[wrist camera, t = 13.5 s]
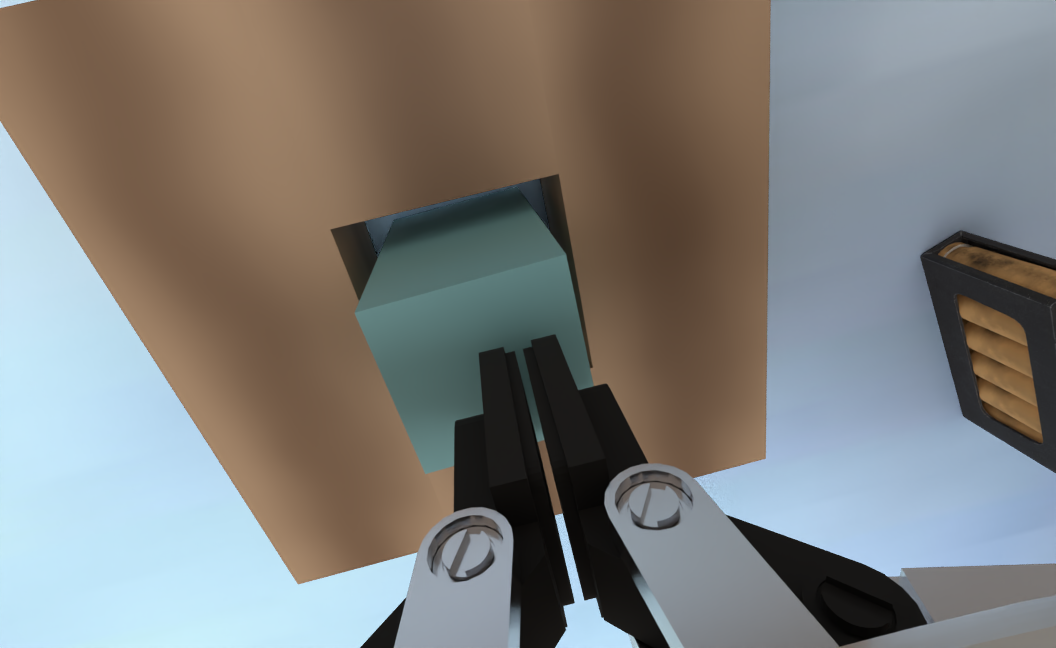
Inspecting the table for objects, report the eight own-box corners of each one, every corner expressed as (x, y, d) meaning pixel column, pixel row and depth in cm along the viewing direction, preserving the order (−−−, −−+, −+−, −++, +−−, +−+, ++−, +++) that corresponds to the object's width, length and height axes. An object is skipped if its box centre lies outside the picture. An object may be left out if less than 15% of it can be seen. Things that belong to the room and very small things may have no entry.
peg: (517, 186, 17) (566, 254, 10) (544, 299, 19) (601, 423, 12) (393, 219, 17) (354, 313, 10) (434, 329, 19) (425, 474, 12)
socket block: (692, -99, 14) (772, -163, 11) (714, 399, 22) (765, 458, 19) (71, 40, 14) (-64, 22, 10) (323, 502, 22) (298, 584, 18)
